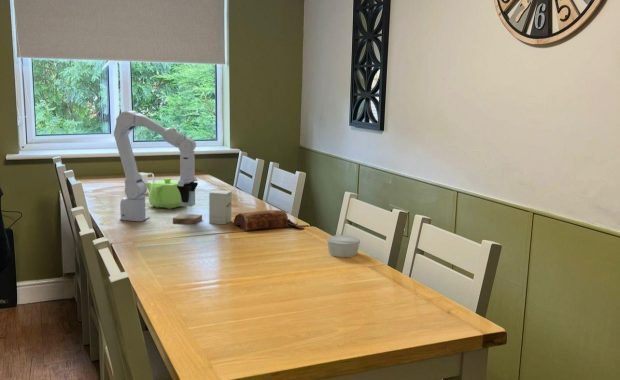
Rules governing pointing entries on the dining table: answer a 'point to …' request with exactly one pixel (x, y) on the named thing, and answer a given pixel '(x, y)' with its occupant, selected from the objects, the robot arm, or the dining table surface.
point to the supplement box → (220, 207)
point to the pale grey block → (189, 200)
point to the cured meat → (263, 220)
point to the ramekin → (343, 245)
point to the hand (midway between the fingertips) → (187, 201)
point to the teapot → (164, 194)
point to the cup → (146, 178)
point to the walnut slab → (187, 219)
